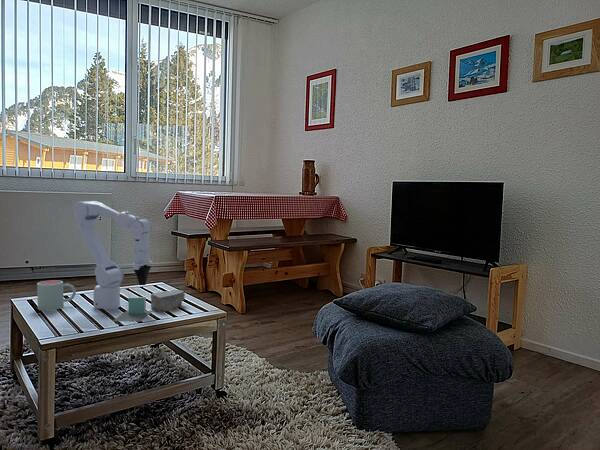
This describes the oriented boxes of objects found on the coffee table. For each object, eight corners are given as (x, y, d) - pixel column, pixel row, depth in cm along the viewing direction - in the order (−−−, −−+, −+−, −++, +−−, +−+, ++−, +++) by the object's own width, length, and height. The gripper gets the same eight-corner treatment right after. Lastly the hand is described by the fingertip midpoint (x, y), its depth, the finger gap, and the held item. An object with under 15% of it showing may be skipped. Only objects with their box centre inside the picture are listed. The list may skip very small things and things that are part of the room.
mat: (112, 322, 173) (112, 320, 173) (127, 311, 187) (127, 310, 187) (140, 323, 173) (140, 321, 173) (152, 312, 187) (152, 311, 186)
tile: (128, 313, 183) (128, 297, 182) (130, 312, 184) (130, 296, 184) (144, 313, 183) (144, 298, 182) (145, 312, 184) (145, 297, 184)
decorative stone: (145, 313, 187) (167, 315, 184) (144, 295, 186) (167, 297, 183) (166, 304, 201) (187, 306, 198) (165, 288, 200) (187, 289, 197)
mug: (37, 311, 185) (36, 286, 184) (38, 305, 193) (37, 281, 192) (76, 307, 191) (76, 283, 190) (75, 302, 199) (75, 278, 198)
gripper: (145, 253, 179) (146, 288, 180) (157, 247, 194) (158, 281, 195) (127, 252, 179) (127, 288, 181) (140, 247, 194) (141, 280, 195)
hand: (142, 284), depth 188 cm, fingers closed
